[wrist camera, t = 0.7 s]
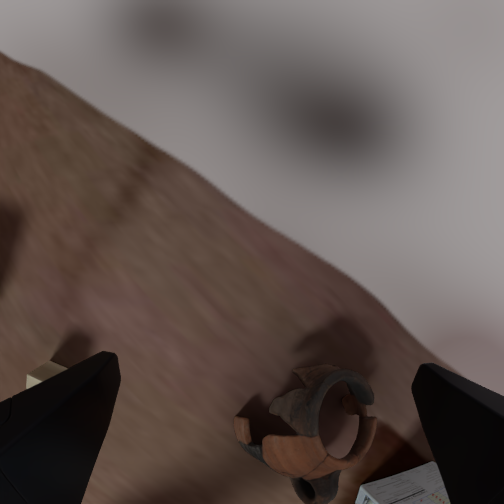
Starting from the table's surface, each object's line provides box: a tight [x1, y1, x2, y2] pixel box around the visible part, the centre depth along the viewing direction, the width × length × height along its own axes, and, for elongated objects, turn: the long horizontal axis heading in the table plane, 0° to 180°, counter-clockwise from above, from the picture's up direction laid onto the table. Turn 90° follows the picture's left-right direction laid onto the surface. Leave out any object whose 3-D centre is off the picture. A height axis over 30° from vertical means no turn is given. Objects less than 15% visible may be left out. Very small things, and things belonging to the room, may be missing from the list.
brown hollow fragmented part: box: [234, 364, 377, 504], centre depth 20 cm, size 12×10×8 cm
